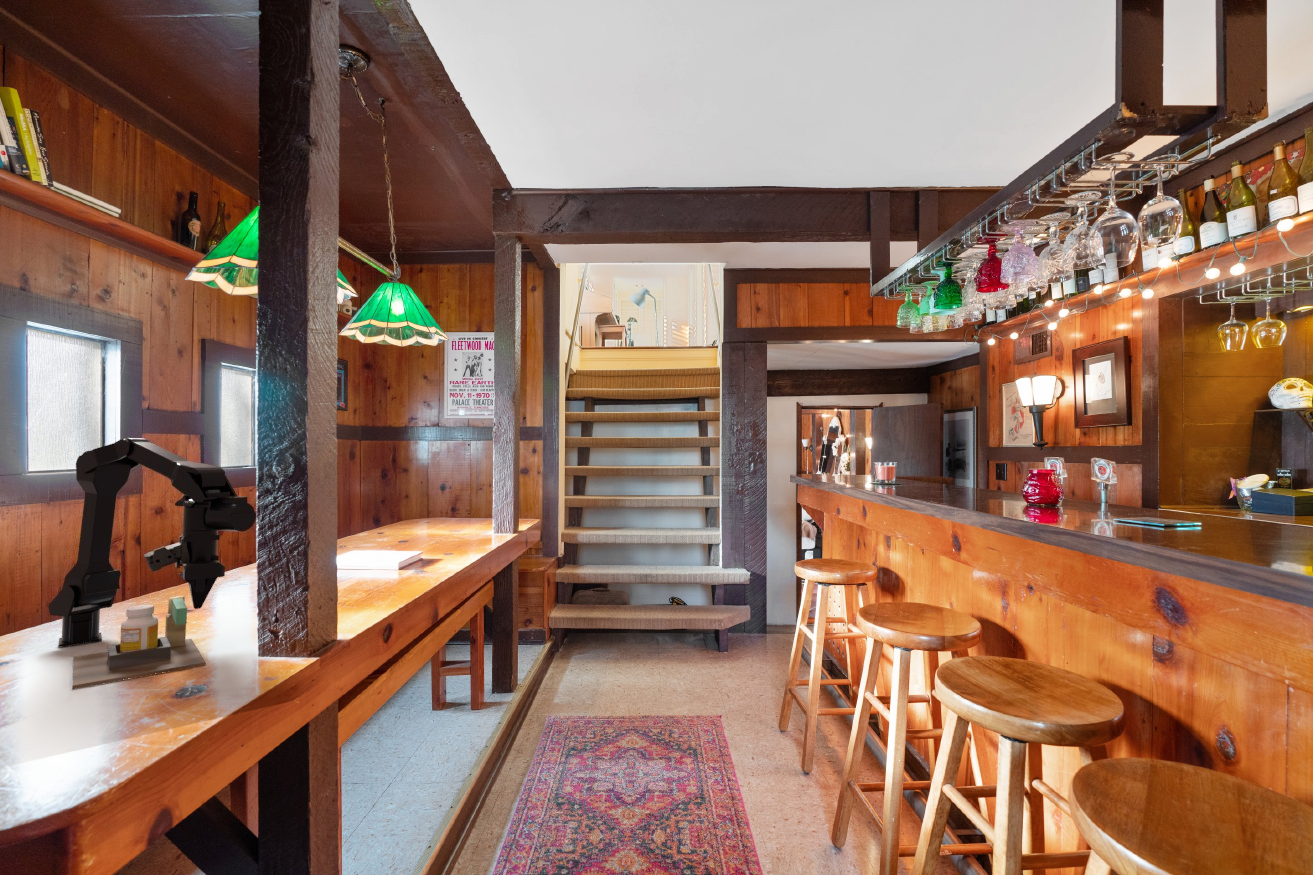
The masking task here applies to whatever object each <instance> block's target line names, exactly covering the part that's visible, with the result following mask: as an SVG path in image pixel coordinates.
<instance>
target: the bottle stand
mask: <svg viewBox="0 0 1313 875" xmlns="http://www.w3.org/2000/svg"><path fill="white" fill-rule="evenodd" d="M186 630H187V624H180V625H176V624H175V622H174V619H173V617H172V614H168V613H167V614H165V630H164V634H165V635H164V636H162V637H158V642H157V647H156V648H150V649H144V650H137V651H131V652H124V653H120V643H113V644H108V645H107V650H106V651H101V652H96V653H89V654H84V655H76V656H73V658H72V661H73V663H72V690H76V689H81V688H87V687H91V686H98V685H102V684H103V683H105V684H109V682H110V683H114V682H113V681H116V682H120V681H119V680H121V681H124V680H123V679H127V680H129V679H128V678H132V679H136V678H135V677H138V678H141V677H140V676H144V677H147V676H146V675H149V676H151V675H150V674H155V673H160V674H163V673H162V672H166V673H169V672H168V671H171V672H175V671H174V670H177V671H182V670H186V669H187V670H188V669H193V668H199V667H204V666H206V660H205V658H204V657H203V655H202V653H201V652H200V650H199V649H198V646H197V645H196V643H195V642H194V640H193V638H186V632H187V631H186ZM181 669H182V670H181ZM155 675H156V674H155ZM103 685H104V684H103Z"/></svg>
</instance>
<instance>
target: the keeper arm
mask: <svg viewBox="0 0 1313 875" xmlns="http://www.w3.org/2000/svg"><path fill="white" fill-rule="evenodd" d="M185 599H186V598H185V596H182V595H181V596H172V597H169V598H168V600H167V601H168V603H167V604H168V605H167V608H168V609H167V614H172V617H173V619H174V622H175V624H176V625H180V624H186V625H187V619H188V616H187V615H188V606H187V605H186V603H185Z"/></svg>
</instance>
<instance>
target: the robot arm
mask: <svg viewBox="0 0 1313 875" xmlns="http://www.w3.org/2000/svg"><path fill="white" fill-rule="evenodd" d="M139 466H143V467H145V468H148V469H149V470H152V471H154V472H155V473H158V474H160V475H161V476H163V477H165V478H167V479H169V480H170V483H171V486H172V487H173V488H174V489H176V490H177V491H178V492H179V493H180V494H182V495H183V496H182V497H181V498H180V499H178V500H177V501H176V502H175V503H174V506H175V507H182V508H183V513H182V514H183V515H182V516H183V518H182V534H181V535H179V538H178V542H175V543H173V544H169V545H166V546H163V545H162V546H161V547H160V548H155V549H153V550H152V551H149V552H147V553H144V554H143V556H144V558H145V560H146V563H147V565H148V568H149V570H150V571H151V573H154V572H157V571H159V570H161V569H162V568H165V567H167V566H171V565H173V564H174V567H175V568H176V569H180V568H181V567H182V571H178V575H179V577H181V579H182V580H183V581H185V582H186V583H188V586H189V588H188V589H189V593H190V596H191V601H192V605H193V609H195V610H198V609H201V608H202V607H203V605H204V604H205V601H206V599H207V597H208V595H209V594H210V592H211V590H212V589H213V587H214V584H215V583H216V581H217V579H218V578H224V577H225V575H226V574H225V572H226V566H225V565H224V564H223V563H221V561H219V559H220V558H219V557H220V556H219V554H218V545H219V544H218V541H219V540H220V537H221V536H220V533H219V531H224V532H225V531H226V532H240V533H241V532H247V531H248V530H250V529H251V528H252V527H253V526H254V524H255V522H256V520H257V519H256V517H257V512H256V510H255V509H254V507H253V505H252V504H251V503H249V502H248V496H238V494H237V493H236V491H235V490H234V488H233V487H232V485H231V483H230V480H229V479H228V477H227V475H226V472H225V470H224V469H223V468H222V467H220V466H216V465H212V464H207V463H204V462H203V463H202V462H195V461H191V460H187V459H186V458H184V457H181V456H180V455H177V454H175V453H173V452H171V451H169V450H167V449H165V448H163V447H161V446H159V445H157V444H154V443H153V442H152V441H151V440H149V439H147V438H141V437H140V438H138V437H136V438H135V437H126V438H121V439H118V440H117V441H115V442H114V443H110V444H106V445H104V446H100V447H96V448H94V449H92V450H87V451H85V452H83V453H82V454H81V455H78V456H77V459H76V462H75V469H76V470H75V471H76V473H75V474H76V481H77V483H78V484H79V486H80V487H81V489H82V490H83V492H84V501H83V510H82V518H81V527H80V535H79V543H78V551H77V560H76V563H75V564H74V566H73V567H71V569H70V570H69V572H67V573H66V574H65V577H64V579H63V584H62V587H61V590H60V591H59V592H58V593H57V595H56V596H55V597H54V598H53V599H52V600H51V602H49V604H48V605H47V607H48V612H49V616H54V617H62V619H61V620H62V621H61V623H62V624H61V637H59V638H58V646H57V647H59V648H61V647H66V646H67V647H68V646H74V645H75V646H77V645H81V644H88V643H96V642H101V641H102V638H103V637H102V635H103V634H102V632H100V619H101V616H100V614H101V609H108V608H111V607H113V605H114V604H113V603H114V600H115V598H116V596H117V593H118V590H120V589H121V588H120V578H121V575H122V573H121V571H120V570H119V569H115V568H114V567H113V565H112V564H111V562H110V558H111V557H110V556H111V547H112V539H113V530H114V523H115V522H114V521H115V513H116V507H117V506H116V504H117V496H118V493H119V492H120V491H121V490H122V488H124V486H125V485H126V484H127V483H128V481H129V478H130V474H131V472H132V471H133V470H134V469H136V468H137V467H139Z"/></svg>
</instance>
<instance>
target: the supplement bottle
mask: <svg viewBox="0 0 1313 875" xmlns="http://www.w3.org/2000/svg"><path fill="white" fill-rule="evenodd" d="M154 611H155V605H153V604H143V605H133V606H130V607H129V606H128V607H126V612H125V616H126V617H127V618H126V619H124V620H123V621H122V622H121V625H120V642H119V644H120V653H124V652H131V651H137V650H144V649H150V648H156V647H157V642H158V638H159V619H158V617H156V616H154Z"/></svg>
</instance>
